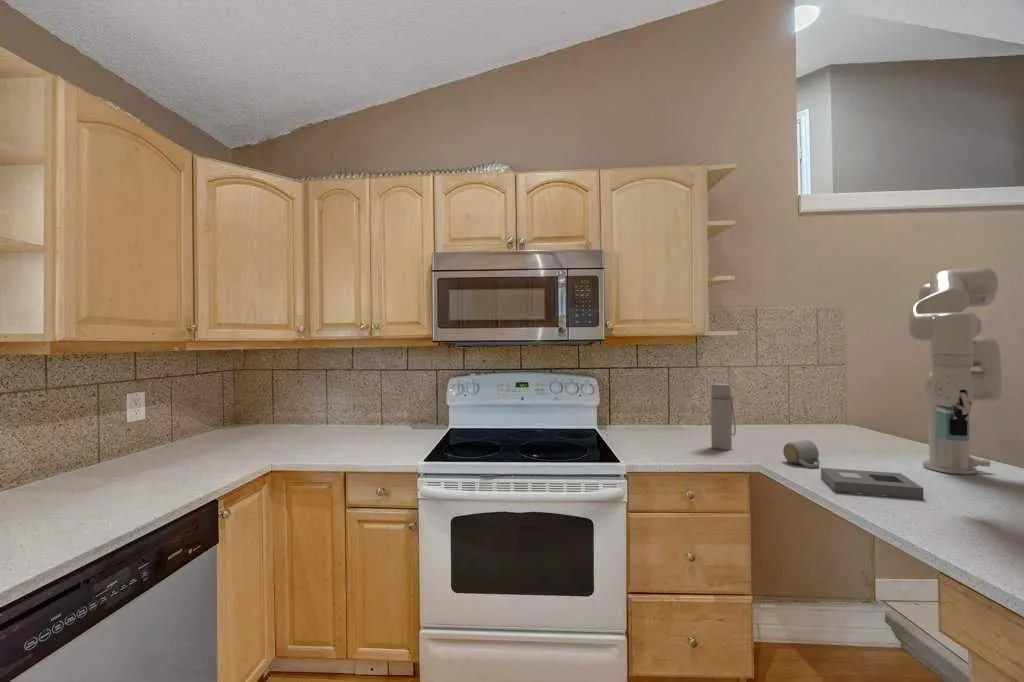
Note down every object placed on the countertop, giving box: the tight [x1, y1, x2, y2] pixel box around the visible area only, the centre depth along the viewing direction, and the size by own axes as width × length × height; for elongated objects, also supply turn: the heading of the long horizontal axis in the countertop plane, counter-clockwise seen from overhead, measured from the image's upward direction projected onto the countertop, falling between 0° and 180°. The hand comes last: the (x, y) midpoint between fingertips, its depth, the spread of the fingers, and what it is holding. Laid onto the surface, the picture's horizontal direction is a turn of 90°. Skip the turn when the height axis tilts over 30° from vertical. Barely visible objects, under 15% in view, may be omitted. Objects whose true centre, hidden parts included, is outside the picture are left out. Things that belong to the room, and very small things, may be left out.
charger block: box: [937, 406, 970, 441], centre depth 120 cm, size 5×5×8 cm
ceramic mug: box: [782, 439, 821, 469], centre depth 159 cm, size 11×8×8 cm
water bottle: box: [710, 382, 737, 451], centre depth 183 cm, size 9×8×25 cm
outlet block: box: [820, 467, 924, 500], centre depth 134 cm, size 20×14×3 cm
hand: (952, 432), depth 120 cm, fingers closed on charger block, 4 cm apart
